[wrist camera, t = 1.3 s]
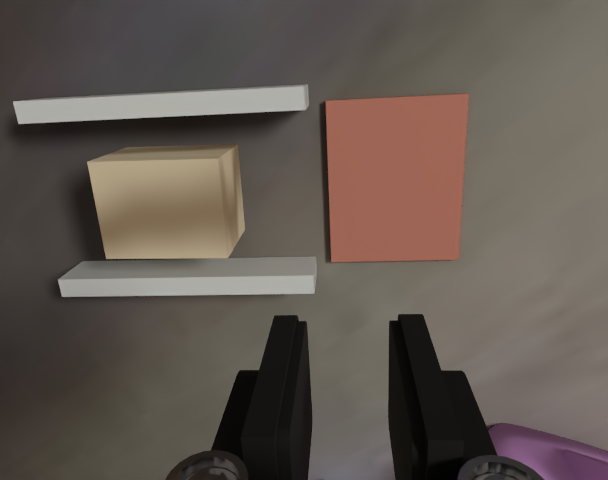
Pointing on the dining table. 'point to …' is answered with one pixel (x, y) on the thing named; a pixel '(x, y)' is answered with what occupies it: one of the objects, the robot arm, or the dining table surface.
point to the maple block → (169, 201)
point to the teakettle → (550, 453)
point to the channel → (179, 272)
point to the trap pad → (396, 177)
